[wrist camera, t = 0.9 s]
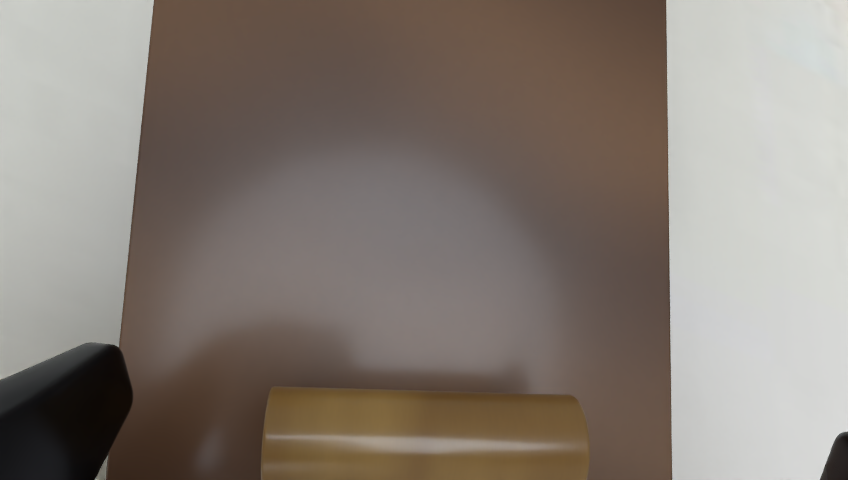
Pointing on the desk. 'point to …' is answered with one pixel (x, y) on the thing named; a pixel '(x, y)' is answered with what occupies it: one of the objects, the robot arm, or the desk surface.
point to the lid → (400, 243)
